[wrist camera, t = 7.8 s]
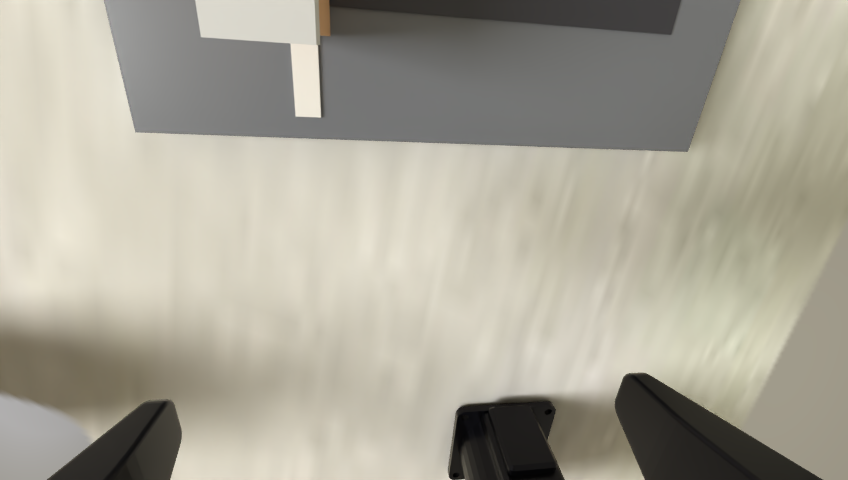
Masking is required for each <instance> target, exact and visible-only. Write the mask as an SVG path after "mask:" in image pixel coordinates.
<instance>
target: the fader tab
mask: <svg viewBox="0 0 848 480" xmlns="http://www.w3.org/2000/svg"><path fill="white" fill-rule="evenodd" d="M195 2H196V9H197V15H198V22H199V28H200V34H201V37H205V38H219V39H234V40H248V41H263V42H277V43H291V44H306V45H320V36H330V7H329V0H195Z"/></svg>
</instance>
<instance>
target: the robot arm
mask: <svg viewBox="0 0 848 480" xmlns="http://www.w3.org/2000/svg"><path fill="white" fill-rule="evenodd" d="M615 410H616V413H617V416H618V418H619V420H620V423H621V425H622V427H623V430H624V432H625V434H626V437H627V439H628V441H629V444H630V446H631V448H632V451H633V453H634V455H635V458H636V460H637V462H638V465H639V467H640V469H641V472H642V474H643V476H644V478H645V480H822V479H821V478H819V477H817V476H816V475H814V474H812V473H811V472H809V471H807V470H806V469H804V468H802V467H801V466H799V465H797V464H796V463H794V462H792V461H791V460H789V459H787V458H786V457H784V456H783V455H781V454H779V453H778V452H776V451H774V450H773V449H771V448H769V447H768V446H766V445H764V444H762V443H761V442H759V441H758V440H756V439H754V438H753V437H751V436H749V435H748V434H746V433H744V432H743V431H741V430H740V429H738V428H736V427H735V426H733V425H731V424H730V423H728V422H726V421H725V420H723V419H721V418H720V417H718V416H716V415H715V414H713V413H711V412H710V411H708V410H706V409H705V408H703V407H702V406H700V405H698V404H697V403H695V402H693V401H692V400H690V399H688V398H687V397H685V396H683V395H682V394H680V393H678V392H677V391H675V390H673V389H672V388H670V387H668V386H667V385H665V384H664V383H662V382H660V381H659V380H657V379H655V378H654V377H652V376H650V375H648V374H646V373H629V374H626V375H625V376H624V378H623V380H622V383H621V385H620V388H619V391H618V394H617V396H616V399H615ZM555 411H556V409H555V407H554V405H553V404H552V403H551V402H548V401H545V402H530V403H515V404H500V405H484V406H469V407H461V408H459V409H458V410H457V411H456V415H455V422H454V430H453V437H452V444H451V451H450V459H449V466H448V473H449V478H450V479H452V480H459V479H465V480H565V479H564V477H563V475H562V473H561V471H560V468H559V466H558V464H557V461H556V459H555V457H554V454H553V452H552V450H551V448H550V446H549V444H548V441H547V439H548V436H549V432H550V429H551V425H552V422H553V418H554V415H555ZM181 438H182V431H181V426H180V423H179V419H178V416H177V412H176V408H175V405H174V403H173V402H172V401H171V400H168V399H164V400H149V401H146V402H144V403H142V404H141V405H140V406H138V407H137V408H136V409H135V410H133V411H132V412H131V413H130V414H128V415H127V416H126V417H125V418H123V419H122V420H121V421H120V422H118V423H117V424H116V425H115V426H113V427H112V428H111V429H110V430H108V431H107V432H106V433H105V434H103V435H102V436H101V437H100V438H98V439H97V440H96V441H95V442H93V443H92V444H91V445H90V446H88V447H87V448H86V449H85V450H83V451H82V452H81V453H80V454H78V455H77V456H76V457H75V458H73V459H72V460H71V461H70V462H69V463H67V464H66V465H65V466H63V467H62V468H61V469H60V470H58V471H57V472H56V473H55V474H53V475H52V476H51V477H50V478H48V479H47V480H170V478H171V475H172V471H173V468H174V465H175V461H176V458H177V454H178V451H179V447H180V444H181Z"/></svg>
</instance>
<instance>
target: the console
mask: <svg viewBox="0 0 848 480" xmlns="http://www.w3.org/2000/svg"><path fill="white" fill-rule="evenodd" d="M104 3H105V7H106V11H107V15H108V20H109V24H110V28H111V32H112V36H113V40H114V45H115V49H116V53H117V57H118V61H119V65H120V70H121V74H122V78H123V82H124V86H125V91H126V95H127V99H128V103H129V107H130V111H131V116H132V120H133V124H134V128H135V132H143V133H171V134H200V135H228V136H256V137H284V138H312V139H341V140H369V141H397V142H425V143H454V144H482V145H510V146H538V147H567V148H595V149H623V150H651V151H680V152H688V150H689V147H690V144H691V141H692V138H693V135H694V132H695V129H696V127H697V124H698V121H699V118H700V115H701V112H702V109H703V107H704V104H705V101H706V98H707V95H708V92H709V89H710V86H711V84H712V81H713V78H714V75H715V72H716V69H717V66H718V63H719V61H720V58H721V55H722V52H723V49H724V46H725V43H726V40H727V38H728V35H729V32H730V29H731V26H732V23H733V20H734V17H735V15H736V12H737V9H738V6H739V3H740V0H329V7H330V36H320V45H306V44H291V43H277V42H263V41H248V40H234V39H219V38H205V37H201V34H200V28H199V22H198V15H197V9H196V2H195V0H104Z"/></svg>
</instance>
